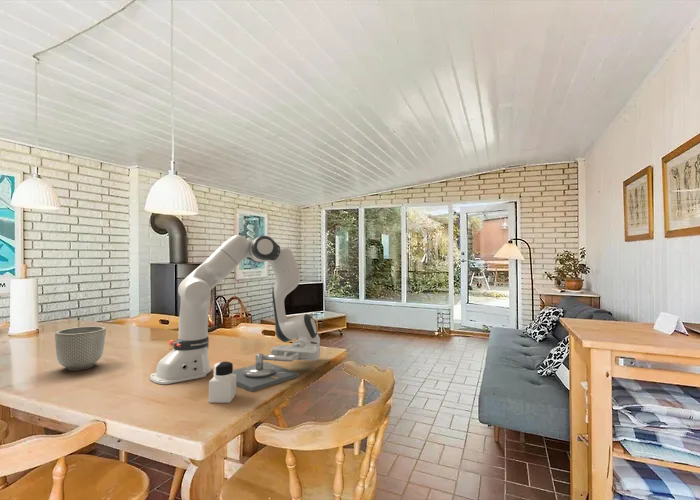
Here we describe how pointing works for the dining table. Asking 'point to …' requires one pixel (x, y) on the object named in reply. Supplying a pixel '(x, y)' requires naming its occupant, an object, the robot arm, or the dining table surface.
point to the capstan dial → (261, 369)
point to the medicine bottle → (222, 383)
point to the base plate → (263, 378)
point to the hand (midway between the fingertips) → (287, 358)
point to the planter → (80, 346)
